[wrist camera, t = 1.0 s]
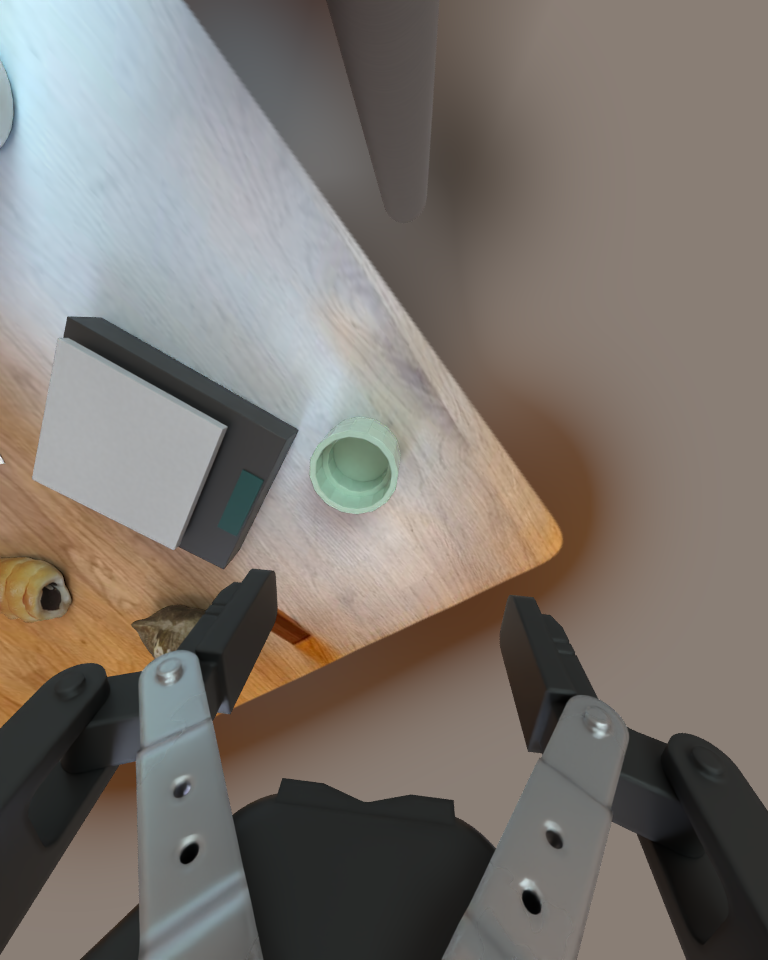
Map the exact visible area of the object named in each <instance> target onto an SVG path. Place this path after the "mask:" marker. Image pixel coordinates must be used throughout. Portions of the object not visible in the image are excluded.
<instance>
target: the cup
mask: <svg viewBox="0 0 768 960" xmlns="http://www.w3.org/2000/svg"><path fill="white" fill-rule="evenodd" d="M400 457H401V453H400V449H399V445H398V441H397V440H396V438H395V436H394V435H393V434H392V432H391V431H390V430H389V429H388V428H387V427H386V426H385V425H383V424H381V423H380V422H378V421H376V420H375V419H370V418H363V417H355V418H351V419H347V420H343V421H342V422H340V423H339V424H338V425H336V426H335V427H334V428H333V429H331V431H330V432H329V433H328V434H327V435H326V436H325V437H324V439H323V440H322V441H321V442H320V443H319V444H318V446H317V448H316V450H315V451H314V453H313V455H312V457H311V460H310V478H311V481H312V484H313V487H314V489H315V491H316V493H317V494H318V495H319V496H320V497H321V498H322V500H323V501H324V502H325V503H326V504H328V505H329V506H331V507H333V508H335V509H337V510H339V511H341V512H346V513H352V514H362V513H366V512H371V511H374V510H376V509H377V508H379V507H380V506H382V505H384V504H385V503H386V502H387V501H388V500H389V498H390V497H391V495H392V494H393V492H394V491H395V489H396V484H397V478H398V471H399V464H400Z"/></svg>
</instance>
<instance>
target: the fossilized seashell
mask: <svg viewBox="0 0 768 960" xmlns="http://www.w3.org/2000/svg"><path fill="white" fill-rule="evenodd" d="M204 614H205V610H203V609H197V608H192V609H190V608H188V607H187V606H184V605H171V606H168V607H165V608H163V609H161V610H159V611H157V612H156V613H154V614H153V615H151V616H150V617H148V618H146V619H142V620H138V621H135V622H133V623H132V627H133V628H134V629H135V630H136V631H137V632H138V634H139V636H140V638H141V640H142V642H143V643H144V645H145V646H146V648H147V649H148V651H149V652H150V653H151V654H152V656H153V657H154V658H155V659H156V658H157V657H159V656H161V655H163V654H166V653H168V652H172V651H176V650H177V649H178V647H179V646H180V645H181V643H182V642H183V641H184V639H185V638H186V637H187V635H188V634H189V633H190V631H191V630H192V629H193V627H194V626H195V625H196V623H197V622H198V621H199V619H200V618H201V617H202V615H204Z"/></svg>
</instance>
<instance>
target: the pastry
mask: <svg viewBox="0 0 768 960" xmlns="http://www.w3.org/2000/svg"><path fill="white" fill-rule="evenodd" d="M71 601H72V600H71V596H70V593H69V591H68V589H67V587H66V586H65V584H64V579H63V576H62V574H61V573H60V572H59V571H58V570H57V569H56V568H55V567H54V566H53V565H51V564H49V563H47V562H45V561H43V560H33V559H31V558H25V557H20V558H17V557H14V558H10V557H9V558H0V613H2V614H4V615H5V616H6V617H7V618H9V619H18V618H19V619H21V620H22V621H24V622H26V623H32V622H37V621H42V620H49V619H53V618H56V617H62V616H63V615H64V614H65V613H66V612H67V610H68V607H69V605H70V604H71Z"/></svg>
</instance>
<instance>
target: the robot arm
mask: <svg viewBox="0 0 768 960" xmlns="http://www.w3.org/2000/svg"><path fill="white" fill-rule="evenodd" d="M277 607H278V606H277V589H276V575H275V572H274V571H271V570H261V569H251V570H250V571H249V573H248V574H247V575H246V577H245V578H244V580H243V581H242V583H238V582H233V583H232V584H231V585H229V586H228V587H226V588H225V589H223V590H222V591H221V592H220V593H219V594H218V596H217V597H216V598H215V600H214V601H213V602H212V605H210V606H209V607H208V609H207V610H206V611H205V614H204V615H202V617H201V618H200V619H199V621H198V622H197V623H196V625H195V626H194V627H193V629H192V630H191V631H190V633H189V634H188V635H187V637H186V638H185V639H184V641H183V642H182V643H181V645H180V646H179V647H178V649H177V650H176V651H172V652H168V653H166V654H163V655H161V656H159V657H157V658H156V659H154V660H153V661H152V662H150V663H149V664H148V665H147V666H146V667H145V668H144V670H143V671H140V672H135V673H129V674H123V675H116V676H110V677H107V675H106V672H105V669H104V668H103V667H102V666H101V665H99V664H94V663H86V664H80V665H76V666H73V667H70V668H68V669H66V670H64V671H62V672H60V673H58V674H57V675H55V676H53V677H52V678H51V679H49V680H48V681H47V682H46V683H45V684H44V685H43V686H42V687H41V688H40V689H39V690H38V691H37V692H36V693H35V694H34V695H33V696H32V697H31V698H30V699H29V700H28V701H27V702H26V703H25V704H24V705H23V706H22V707H21V708H20V709H19V710H18V711H17V712H16V713H15V714H14V715H13V716H12V717H11V718H10V719H9V720H8V721H7V722H6V723H5V724H4V725H3V726H2V727H1V728H0V954H1V953H2V951H3V950H4V948H5V946H6V945H7V943H8V941H9V940H10V938H11V937H12V935H13V934H14V932H15V930H16V929H17V927H18V926H19V924H20V922H21V921H22V919H23V918H24V916H25V914H26V913H27V911H28V910H29V908H30V907H31V905H32V903H33V902H34V900H35V898H36V897H37V895H38V894H39V892H40V891H41V889H42V887H43V886H44V884H45V883H46V881H47V879H48V878H49V876H50V874H51V873H52V871H53V870H54V868H55V867H56V865H57V863H58V862H59V860H60V859H61V857H62V856H63V854H64V852H65V851H66V849H67V848H68V846H69V844H70V843H71V841H72V840H73V838H74V836H75V835H76V833H77V831H78V830H79V829H80V827H81V825H82V824H83V822H84V821H85V819H86V817H87V816H88V814H89V813H90V811H91V809H92V808H93V806H94V805H95V803H96V801H97V800H98V798H99V797H100V795H101V793H102V792H103V790H104V789H105V787H106V786H107V784H108V782H109V781H110V779H111V778H112V776H113V774H114V773H115V771H116V770H117V768H118V766H119V765H120V764H125V763H129V762H134V761H136V781H137V782H136V783H137V827H138V874H139V875H138V876H139V904H138V905H137V906H136V907H135V908H134V909H132V910H131V911H130V912H129V913H128V914H127V915H126V916H125V917H124V918H123V919H122V920H121V921H120V922H119V923H118V924H117V925H116V926H115V927H114V928H113V929H112V930H110V931H109V932H108V933H107V934H106V935H105V936H104V937H103V938H102V939H101V940H100V941H99V942H98V943H97V944H96V945H95V946H94V947H93V948H92V949H91V950H89V951H88V952H87V953H86V954H85V955H84V956H83V957H82V958H81V959H80V960H577V956H578V952H579V948H580V944H581V941H582V937H583V933H584V929H585V925H586V921H587V917H588V913H589V909H590V905H591V901H592V897H593V893H594V889H595V886H596V882H597V877H598V873H599V870H600V866H601V862H602V858H603V854H604V850H605V846H606V842H607V838H608V834H609V830H610V827H611V822H614V823H616V824H618V825H620V826H622V827H624V828H626V829H628V830H631V831H633V832H635V833H637V836H638V838H639V841H640V843H641V845H642V848H643V850H644V853H645V856H646V858H647V861H648V863H649V866H650V869H651V871H652V874H653V876H654V879H655V881H656V884H657V886H658V889H659V891H660V894H661V896H662V899H663V902H664V904H665V907H666V909H667V912H668V914H669V917H670V919H671V922H672V924H673V927H674V929H675V932H676V935H677V937H678V940H679V942H680V945H681V947H682V950H683V952H684V955H685V957H686V960H768V811H767V809H766V808H765V806H764V805H763V803H762V802H761V801H760V799H759V798H758V796H757V795H756V793H755V792H754V791H753V789H752V787H751V786H750V785H749V783H748V782H747V780H746V779H745V777H744V776H743V774H742V773H741V771H740V770H739V769H738V767H737V766H736V765H735V764H734V763H733V761H731V759H730V758H729V757H728V756H727V755H725V754H724V753H723V752H722V751H721V750H719V749H718V748H717V747H715V746H714V745H712V744H711V743H709V742H707V741H705V740H704V739H701V738H699V737H697V736H694V735H691V734H686V733H678V734H675V735H673V736H672V737H671V738H670V740H669V742H668V743H664V742H661V741H659V740H656V739H654V738H651V737H649V736H646V735H644V734H641V733H638V732H636V731H634V730H632V729H630V728H628V727H627V726H626V724H625V723H624V721H623V719H622V718H621V717H620V716H619V714H618V713H617V712H615V710H614V709H612V708H611V707H610V706H608V705H607V704H606V703H604V702H602V701H601V700H599V699H598V698H597V696H596V694H595V692H594V690H593V688H592V686H591V684H590V682H589V680H588V678H587V676H586V674H585V672H584V670H583V668H582V666H581V664H580V662H579V660H578V657H577V656H576V655H575V651H574V649H573V648H572V645H571V644H569V640H568V637H567V635H566V634H565V632H564V630H563V627H562V626H561V625H560V624H558V622H557V621H555V619H554V618H553V617H552V616H551V615H545V614H541V612H540V610H539V607H538V605H537V603H536V601H535V599H534V598H533V597H525V596H515V595H510V596H509V597H508V599H507V604H506V608H505V612H504V616H503V621H502V625H501V630H500V648H501V652H502V656H503V660H504V664H505V667H506V670H507V675H508V679H509V682H510V686H511V690H512V693H513V697H514V701H515V705H516V708H517V712H518V716H519V720H520V723H521V727H522V731H523V734H524V738H525V742H526V745H527V749H528V752H536V753H542V757H541V758H539V760H538V761H537V763H536V765H535V768H534V770H533V772H532V774H531V776H530V778H529V780H528V782H527V784H526V786H525V789H524V791H523V793H522V795H521V797H520V799H519V801H518V803H517V806H516V808H515V810H514V812H513V814H512V816H511V818H510V820H509V823H508V824H507V827H506V829H505V831H504V833H503V835H502V837H501V839H500V841H499V843H498V846H497V848H495V847H494V846H493V845H492V844H491V843H490V842H489V841H488V840H487V839H486V838H485V837H484V836H483V835H482V834H481V833H479V831H477V830H476V829H475V828H473V827H472V826H470V825H469V824H467V823H466V822H464V821H463V820H461V819H459V818H456V817H455V813H454V800H448V799H440V798H432V797H425V796H417V795H406V796H401V797H395V798H390V799H384V800H379V801H373V802H363V801H360V800H358V799H356V798H354V797H352V796H350V795H347V794H345V793H343V792H341V791H339V790H337V789H335V788H332V787H330V786H328V785H326V784H324V783H316V782H309V781H301V780H294V779H286V778H282V781H281V785H280V788H279V791H278V794H273V795H269V796H266V797H263V798H260V799H258V800H256V801H254V802H252V803H250V804H248V805H246V806H245V807H243V808H242V809H240V810H238V811H237V812H236V813H234V814H233V815H232V812H231V807H230V802H229V798H228V793H227V789H226V784H225V779H224V774H223V769H222V765H221V760H220V755H219V751H218V747H217V741H216V737H215V732H214V727H213V722H212V721H213V719H214V718H215V716H216V714H217V713H225V714H231V712H232V710H233V708H234V705H235V703H236V701H237V699H238V697H239V695H240V693H241V691H242V689H243V687H244V685H245V683H246V681H247V679H248V677H249V675H250V673H251V671H252V669H253V666H254V664H255V662H256V660H257V658H258V656H259V654H260V652H261V650H262V648H263V646H264V644H265V642H266V640H267V638H268V636H269V634H270V632H271V629H272V627H273V625H274V623H275V620H276V616H277Z"/></svg>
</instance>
